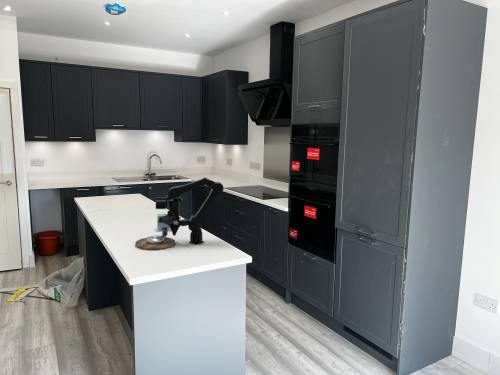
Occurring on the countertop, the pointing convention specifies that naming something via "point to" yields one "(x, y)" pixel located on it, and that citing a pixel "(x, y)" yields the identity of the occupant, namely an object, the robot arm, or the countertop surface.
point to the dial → (158, 237)
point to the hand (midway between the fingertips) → (174, 235)
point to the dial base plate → (146, 246)
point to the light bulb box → (160, 224)
